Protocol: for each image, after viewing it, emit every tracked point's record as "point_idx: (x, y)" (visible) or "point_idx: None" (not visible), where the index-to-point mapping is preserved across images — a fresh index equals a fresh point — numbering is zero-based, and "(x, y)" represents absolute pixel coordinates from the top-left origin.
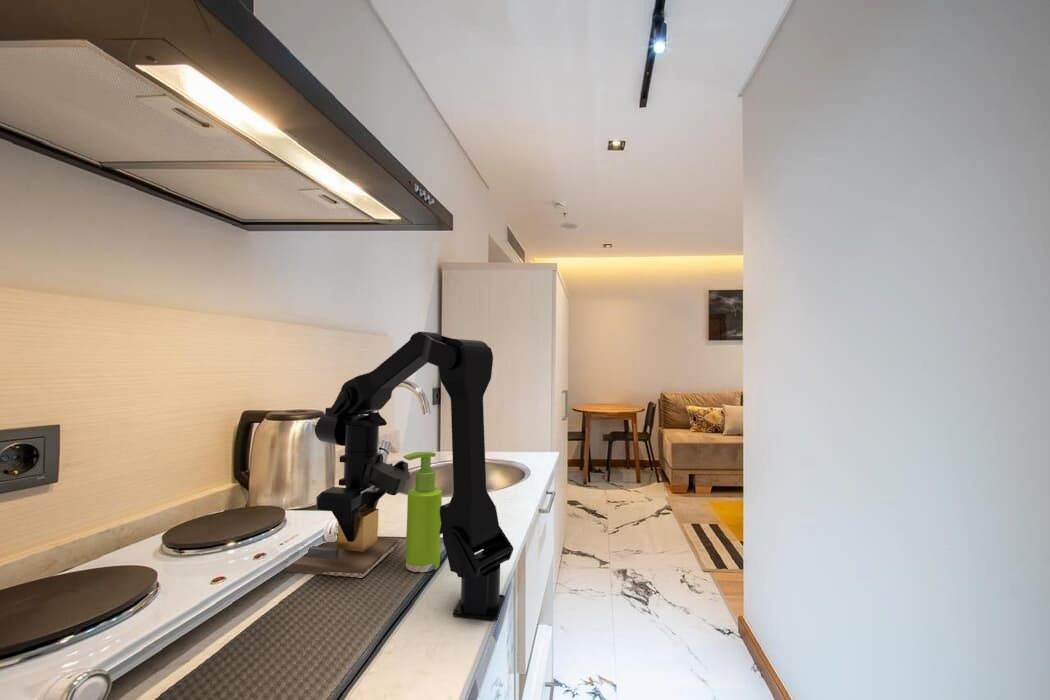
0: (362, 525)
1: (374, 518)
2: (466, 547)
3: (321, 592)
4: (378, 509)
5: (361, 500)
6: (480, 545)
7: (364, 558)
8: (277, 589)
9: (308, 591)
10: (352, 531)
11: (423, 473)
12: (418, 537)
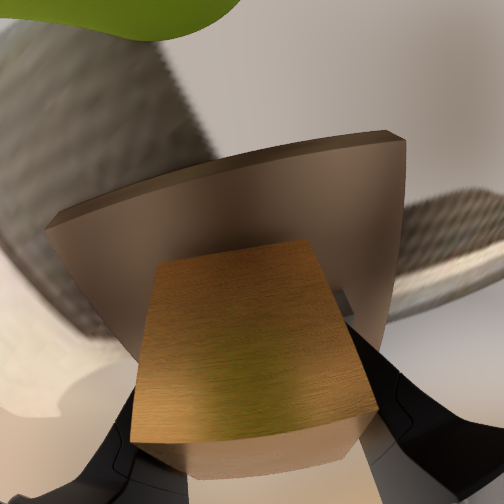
0: (356, 356)
1: (191, 384)
2: None
3: (464, 198)
4: (132, 436)
5: (174, 502)
6: None
7: (303, 208)
8: (446, 289)
9: (459, 230)
10: (372, 348)
11: None
12: None
